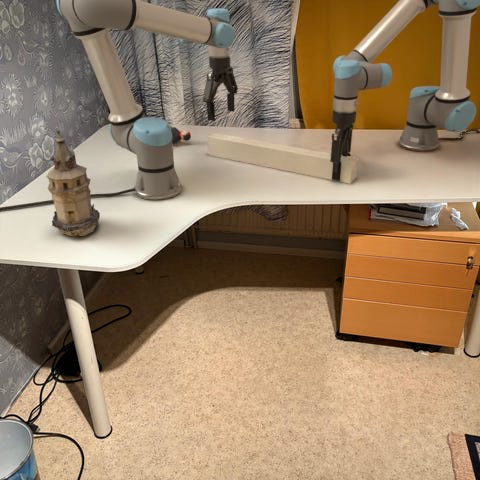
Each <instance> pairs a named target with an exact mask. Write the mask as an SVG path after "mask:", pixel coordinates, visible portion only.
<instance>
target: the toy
mask: <svg viewBox="0 0 480 480" xmlns="http://www.w3.org/2000/svg"><path fill="white" fill-rule="evenodd" d="M170 127H171V132H172V144H173V146H175V145H178V144H179V143H180V142H181V141H184V142H188V141H190V140H191V136H192V134H191V132H190V131H189V130H181V131H180V130H179V129H178V128H177V127H176V126H173V127H172V126H171V125H170Z"/></svg>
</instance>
